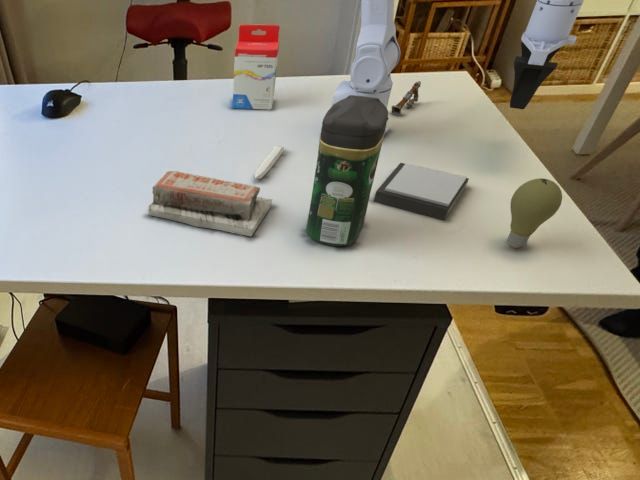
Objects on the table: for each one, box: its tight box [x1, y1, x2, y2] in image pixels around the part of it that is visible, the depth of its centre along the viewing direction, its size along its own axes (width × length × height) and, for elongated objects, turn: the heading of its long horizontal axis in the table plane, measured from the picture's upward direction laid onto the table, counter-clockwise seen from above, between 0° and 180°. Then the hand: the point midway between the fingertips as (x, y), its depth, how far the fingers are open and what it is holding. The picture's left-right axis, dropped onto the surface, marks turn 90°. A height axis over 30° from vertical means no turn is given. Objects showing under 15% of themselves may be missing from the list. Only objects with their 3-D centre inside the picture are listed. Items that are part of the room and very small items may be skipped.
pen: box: [254, 144, 285, 180], centre depth 96 cm, size 2×14×2 cm, turn 152°
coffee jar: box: [305, 95, 390, 247], centre depth 75 cm, size 10×8×19 cm
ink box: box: [232, 23, 281, 111], centre depth 111 cm, size 8×5×15 cm, turn 77°
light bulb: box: [506, 177, 563, 249], centre depth 73 cm, size 6×6×10 cm
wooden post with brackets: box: [391, 80, 422, 116], centre depth 109 cm, size 2×8×4 cm, turn 132°
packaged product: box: [147, 170, 273, 237], centre depth 86 cm, size 18×5×10 cm
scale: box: [373, 162, 470, 221], centre depth 87 cm, size 11×11×2 cm
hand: (519, 98), depth 88 cm, fingers open, 7 cm apart
